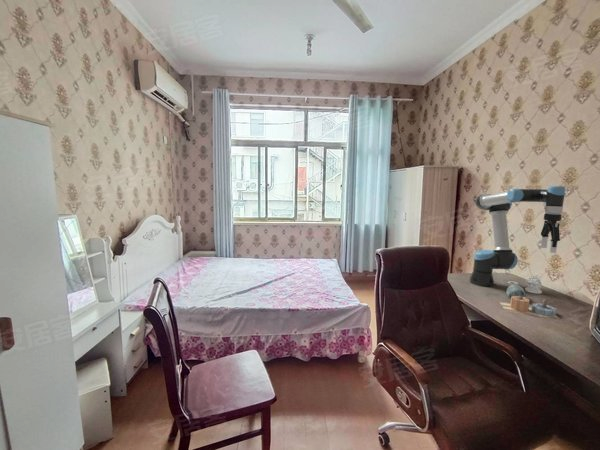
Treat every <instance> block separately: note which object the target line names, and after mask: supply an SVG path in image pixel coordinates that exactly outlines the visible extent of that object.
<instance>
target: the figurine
mask: <svg viewBox="0 0 600 450" xmlns="http://www.w3.org/2000/svg"><path fill="white" fill-rule="evenodd" d="M538 276H539V275H538V274H537V275H534V276H532V275H530V277H529V279H527V280H525V282H526V284H525V285H526V287H525V288H524V291H525V292H528V293H531V294H539V295H541V294H542V293H543V291H542V290H541V288H542V287H543V284H542V281H541V278H539V277H538Z"/></svg>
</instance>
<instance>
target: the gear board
mask: <svg viewBox="0 0 600 450" xmlns="http://www.w3.org/2000/svg"><path fill="white" fill-rule="evenodd" d="M522 298H523V297H521V296H519V298H518V299H520V300H522ZM499 303H500V305H501V306H502V308H503V310H504V311H505V312H508V313H509V312H510V313H516V314H523V315H528V316H533V317H534V316H535V317H541V318H547V319H548V318H549V319H555V320H560V317H558V316H557V315H555V316H544V315H541V314H537V313H535V312H534V311H532V310H531V307H532V305H529V309H528V312H521V311H517V310H514V309H512V308H511V307H510V303H511V302H503V301H499ZM547 303H548V300H547V299H542V303H541V304H542V307H544V308H546V305H548V304H547Z"/></svg>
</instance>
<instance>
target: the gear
mask: <svg viewBox="0 0 600 450" xmlns="http://www.w3.org/2000/svg"><path fill="white" fill-rule="evenodd" d="M531 306H532V307H531V310H532V311H534V312H535V313H537V314H541V315H544V316H555V315H556V314H557V308H556V307H553V306H552V305H549V304H547V305H546V308H544V307H542V303H538V302H537V303H532V304H531ZM556 316H557V315H556Z"/></svg>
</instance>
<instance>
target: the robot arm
mask: <svg viewBox="0 0 600 450" xmlns="http://www.w3.org/2000/svg"><path fill="white" fill-rule="evenodd" d="M565 196H566V187H565V186H561V185H560V186H553V185H549V186H547V189H543V188H535V189H534V188H527V189H526V188H525V189H524V188H511V189H509V191H503V192H497V193H492V194H491V193H490V194H489V193H484V194H480V195H478V196H477V197H476V198H475V200H474V201H475V205H476V207H477V208H478V209H480V210H483V211H488V213H489V215H490V216H491V218H492V229H493V231H492V232H493V242H494V249H491V250H489V249H481V250H476V252H475V253H474V257H473V259H474V261H473V269H472V272H471V275H470V277H469V280H468V281H469V282H470V283H471V284H473V285H475V286H480V287H481V286H482V287H494V286H495V278H494V276H493V272H494V271H493V270H513V269H514V268H516V266H517V264H518V256H517V254H516V253H514V252H513V249H512V248H511V247H510V241H509V239H510V238H509V228H508V220H507V214H508V213H509V211H510V209H511V208H512V207H513V203H522V202H524V203H525V202H526V203H527V202H528V203H545V207H544V208H543V209H544V213H543V214H544V215H543V220H544V223H543V226H542V229H541V233H540V236H541V241H540V248H541V249H547V248H548V241H550V247H549V253H550V254H551V253H553V254H556V253H557V247H558V242H560V241H561V238H560V237H561V236H560V235H561V234H560V223H557V222H561V221H562V216H563V215H562V214H563V209H564V207H563V206H564V201H565ZM549 235H550V237H551V239H550V240H549Z"/></svg>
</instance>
